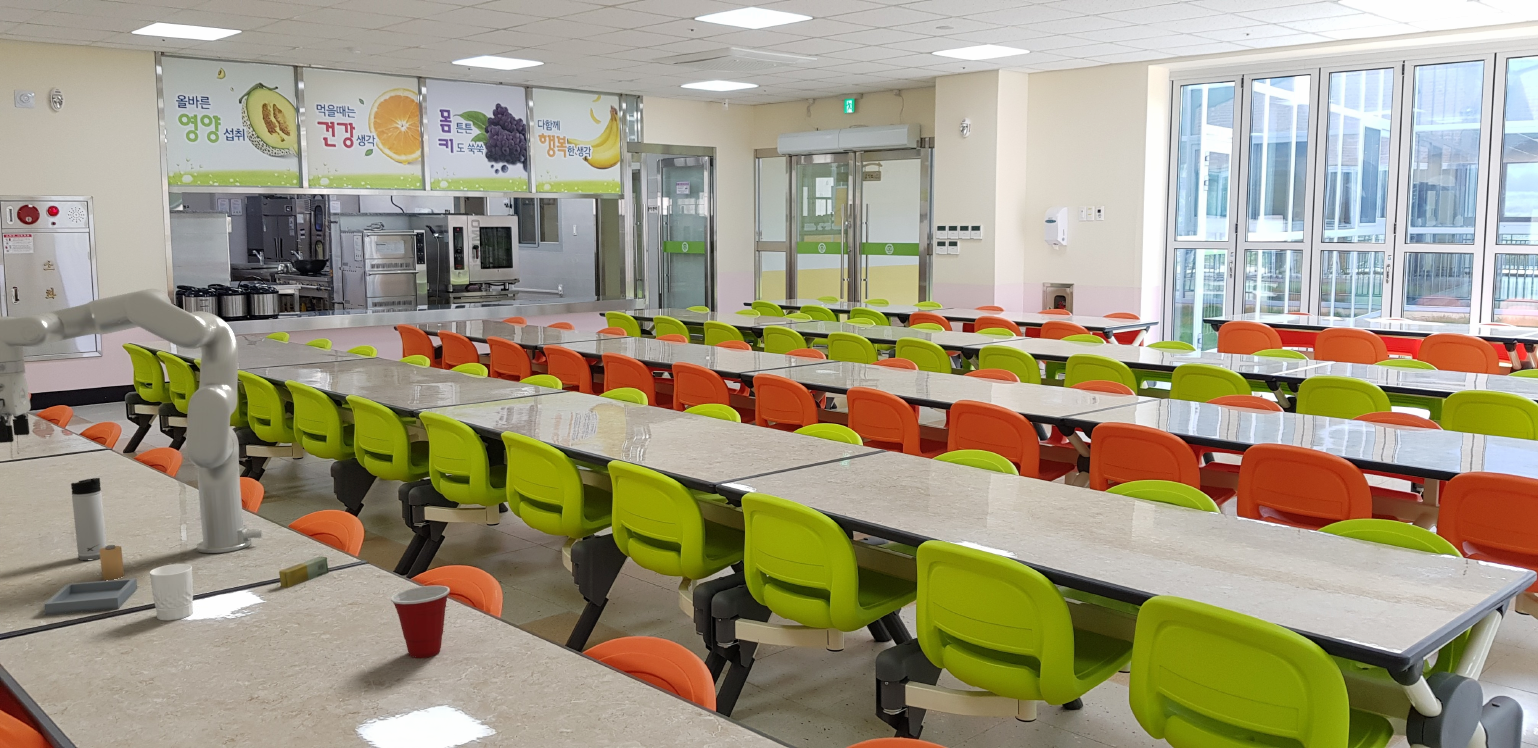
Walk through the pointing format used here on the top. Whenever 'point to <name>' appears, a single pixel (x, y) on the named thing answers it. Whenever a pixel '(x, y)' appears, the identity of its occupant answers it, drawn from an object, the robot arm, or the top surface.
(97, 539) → the travel mug
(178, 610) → the white cup
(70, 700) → the top surface
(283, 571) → the medication box
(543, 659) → the top surface
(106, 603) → the tray
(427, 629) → the plastic cup
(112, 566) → the battery cell
